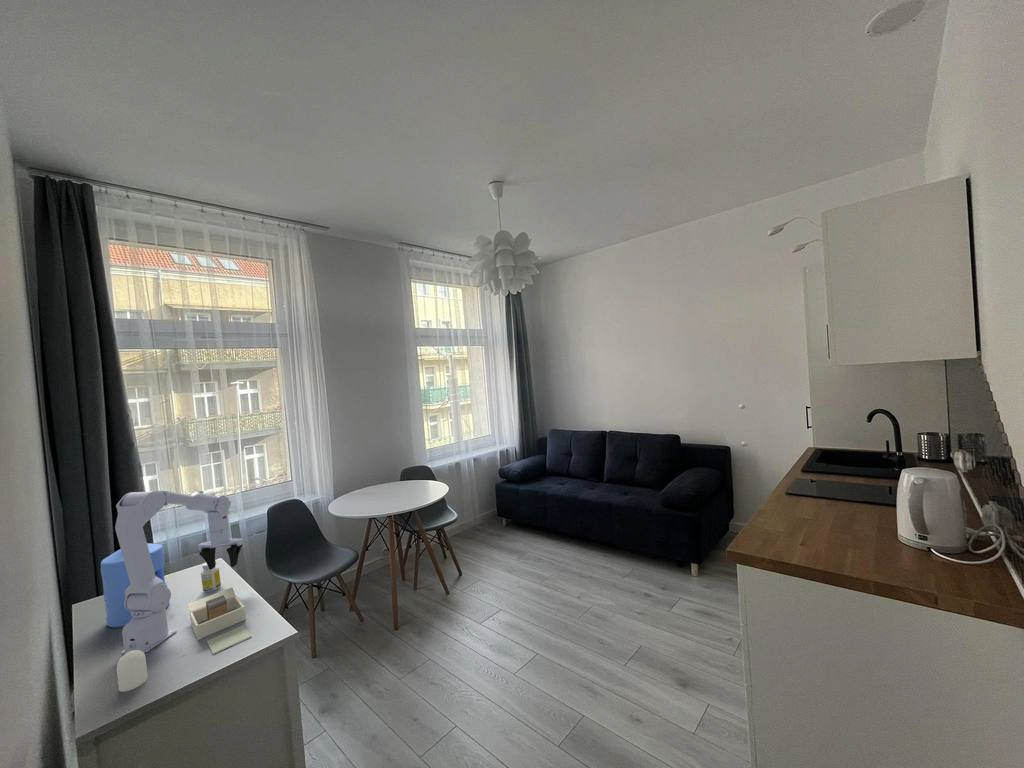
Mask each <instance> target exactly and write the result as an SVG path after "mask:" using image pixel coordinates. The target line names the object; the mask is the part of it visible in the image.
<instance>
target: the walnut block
mask: <svg viewBox="0 0 1024 768" xmlns="http://www.w3.org/2000/svg"><path fill="white" fill-rule="evenodd" d="M206 607H207V616H208V619H207V621H209V620H211V619H214V618H216V617H219V616H221V615H224V614H226V613H229V611H228V610H227V601H226V598H225V597H224V595H222V596H219V597H217V598H214V599H211V600H209V601H206Z"/></svg>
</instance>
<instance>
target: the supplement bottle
mask: <svg viewBox="0 0 1024 768" xmlns="http://www.w3.org/2000/svg"><path fill="white" fill-rule="evenodd" d="M201 566H202V570H201V572H200V577H201V585H202V592H203V593H210V592H213V591H215V590H218V589H220V588H221V586H222V582H221V574H220V568H219V566H217V561H216V560H215V567H214V568H213V569H211V570H210V569H209V567H208V565H207V563H206V562H204V563H202V565H201Z"/></svg>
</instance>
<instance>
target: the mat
mask: <svg viewBox="0 0 1024 768" xmlns="http://www.w3.org/2000/svg"><path fill="white" fill-rule="evenodd" d="M251 638H252V635H251V632H249V630H248V629H247V628H246V627H245V625H244V624H243V625H240V626H238V627H236V628H233V629H231V630H229V631H226V632H224V633H222V634H220V635H218V636H214V637H212V638H210V639H208V640H207V641H206V642H207V645H208V646H209V649H210V651H211V654H212V655H213V654H214V655H216V654H219V653H220V652H219V651H221V650H223V651H224V649H225V650H227V649H229V648H231V647H230V646H232V647H233V645H234V646H236V645H238V644H240V643H242V642H245V641H247V640H249V639H251ZM228 647H229V648H228ZM226 648H227V649H226ZM221 652H222V651H221ZM215 653H216V654H215Z"/></svg>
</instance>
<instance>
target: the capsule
mask: <svg viewBox="0 0 1024 768" xmlns="http://www.w3.org/2000/svg"><path fill="white" fill-rule="evenodd" d="M116 663H117V665H116V676H117V685H118V691H119V692H121V693H123V692H128V691H132V690H133V689H136V688H138V687H139V686H141V685H143V684H144V683H145V682H147V680H148V679H149V676H148V667H147V658H146V654H145V653H144V652H142V651H140V650H132V651H129V652H127V653H124V654H123V655H122V656H121V657H120V658H119V660H118V661H117V662H116Z"/></svg>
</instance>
